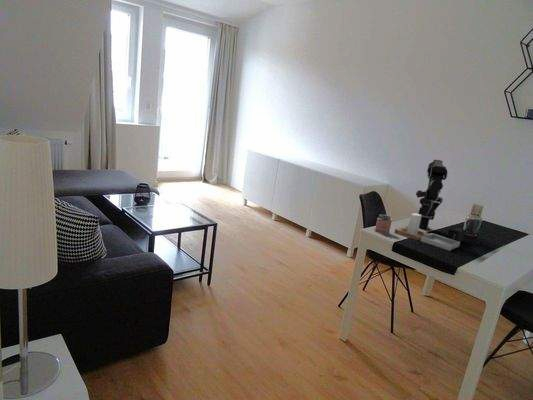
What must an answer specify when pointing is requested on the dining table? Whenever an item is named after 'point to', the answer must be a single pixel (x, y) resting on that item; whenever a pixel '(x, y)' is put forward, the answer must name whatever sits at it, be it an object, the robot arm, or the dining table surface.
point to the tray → (440, 242)
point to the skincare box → (414, 223)
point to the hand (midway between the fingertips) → (427, 215)
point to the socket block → (403, 229)
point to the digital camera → (456, 234)
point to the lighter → (383, 224)
